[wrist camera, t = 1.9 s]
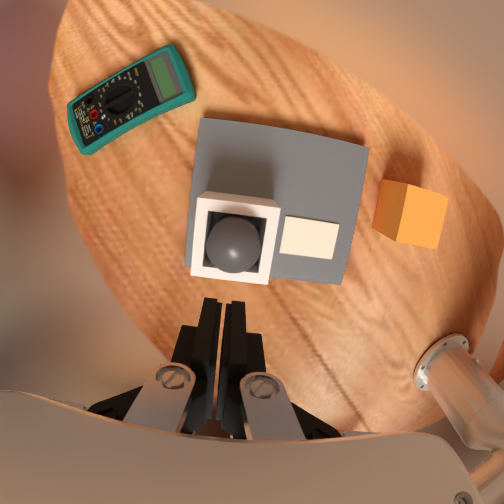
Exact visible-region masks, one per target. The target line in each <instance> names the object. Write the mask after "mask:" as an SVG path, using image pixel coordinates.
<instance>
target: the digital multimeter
mask: <svg viewBox="0 0 504 504" xmlns="http://www.w3.org/2000/svg"><path fill="white" fill-rule="evenodd" d="M195 99H196V94H195V90H194V87H193V84H192V81H191V78H190V75H189V73H188V71H187V68H186V66H185V64H184V62H183V60H182V58H181V56H180V54H179V53H178V51H177V49H176V48H175V46H174V45H173V44H168V45H166V46H164V47H162V48H160V49H158V50H156V51H154V52H153V53H151V54H149V55H147V56H145V57H144V58H142V59H140V60H138V61H137V62H135V63H133V64H131V65H129V66H128V67H126V68H124V69H122V70H121V71H119V72H117V73H116V74H114V75H112V76H111V77H109V78H107V79H106V80H104V81H102V82H100V83H99V84H97V85H95V86H94V87H92V88H91V89H89V90H87V91H86V92H84V93H83V94H81V95H79V96H78V97H76V98H75V99H73V100H72V101H70V102H69V103H68V104H67V117H68V125H69V129H70V133H71V136H72V138H73V140H74V142H75V144H76V146H77V147H78V149H79V150H80V152H81V153H82V154H83V155H92V154H94V153H95V152H97V151H98V150H99V149H101V148H102V147H104V146H105V145H107V144H108V143H110V142H111V141H113V140H114V139H116V138H118V137H119V136H121V135H122V134H124V133H126V132H127V131H129V130H131V129H133V128H134V127H136V126H138V125H140V124H142V123H144V122H146V121H148V120H150V119H152V118H154V117H156V116H158V115H160V114H163V113H165V112H167V111H170V110H172V109H175V108H177V107H180V106H182V105H185V104H187V103H190V102H192V101H194V100H195ZM113 129H114V130H113ZM108 132H109V133H108ZM103 135H104V136H103ZM92 142H93V143H92Z"/></svg>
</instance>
